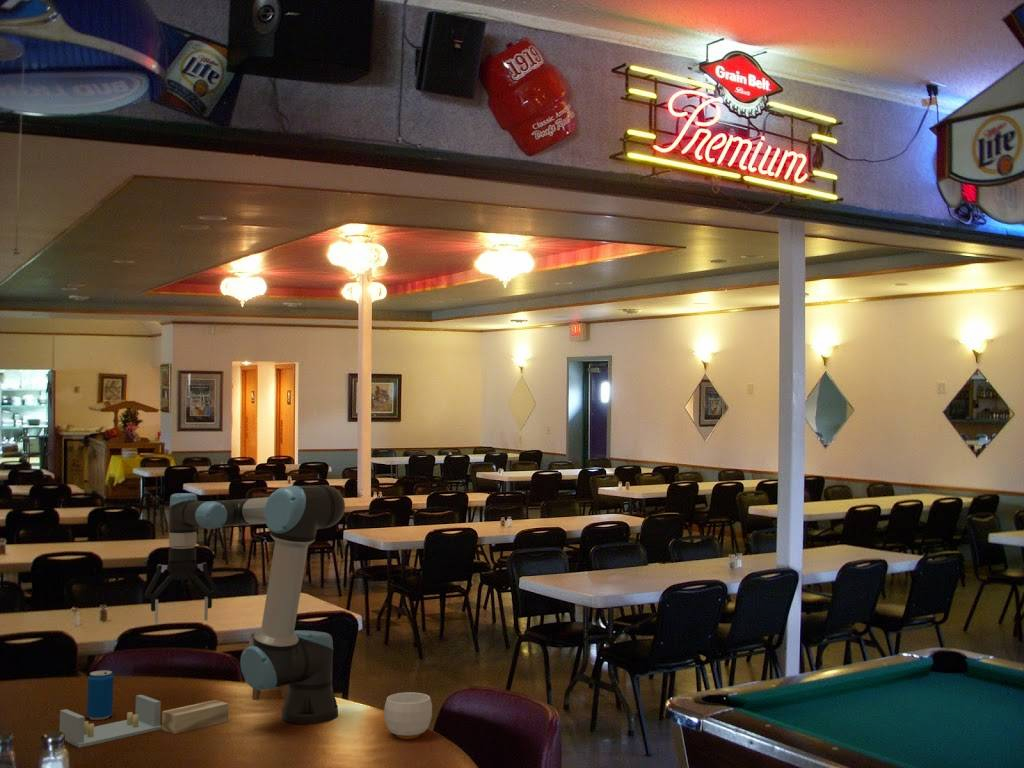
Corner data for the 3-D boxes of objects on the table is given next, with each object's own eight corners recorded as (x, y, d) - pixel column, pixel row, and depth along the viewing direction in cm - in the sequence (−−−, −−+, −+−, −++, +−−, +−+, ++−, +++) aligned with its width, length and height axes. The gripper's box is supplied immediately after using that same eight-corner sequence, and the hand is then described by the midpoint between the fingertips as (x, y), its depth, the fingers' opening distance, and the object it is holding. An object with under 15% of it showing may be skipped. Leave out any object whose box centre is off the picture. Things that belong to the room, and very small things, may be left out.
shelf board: (228, 722, 278) (228, 703, 278) (174, 735, 266) (174, 715, 266) (215, 718, 282) (215, 699, 282) (161, 730, 270) (162, 711, 270)
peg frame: (161, 729, 270) (162, 702, 270) (79, 747, 253) (80, 718, 254) (138, 720, 278) (139, 693, 278) (57, 737, 261) (58, 709, 262)
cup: (412, 745, 258) (412, 706, 259) (374, 737, 265) (374, 699, 265) (441, 733, 269) (441, 696, 269) (403, 726, 275) (404, 689, 276)
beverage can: (117, 715, 282) (118, 671, 283) (101, 721, 276) (102, 676, 276) (98, 713, 284) (99, 669, 285) (81, 719, 278) (82, 674, 279)
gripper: (226, 544, 306) (225, 616, 305) (136, 547, 298) (135, 621, 296) (228, 546, 299) (227, 620, 298) (136, 549, 291) (135, 626, 289)
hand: (181, 621), depth 297 cm, fingers open, 13 cm apart
